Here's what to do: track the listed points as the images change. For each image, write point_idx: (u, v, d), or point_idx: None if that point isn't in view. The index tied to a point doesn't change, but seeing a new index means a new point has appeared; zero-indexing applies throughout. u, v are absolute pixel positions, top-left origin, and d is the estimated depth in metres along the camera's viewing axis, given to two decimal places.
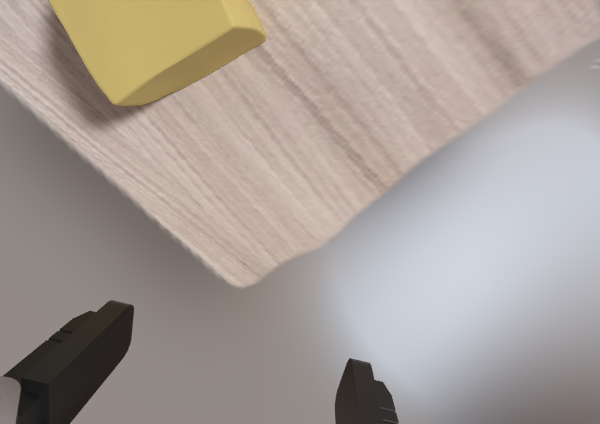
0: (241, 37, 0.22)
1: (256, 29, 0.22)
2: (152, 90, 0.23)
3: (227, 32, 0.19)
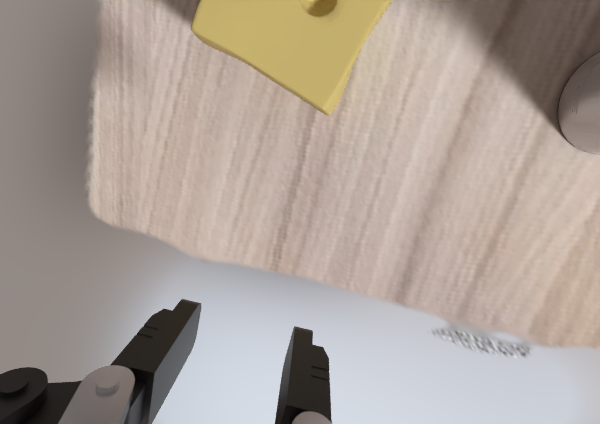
0: (316, 106, 0.24)
1: None
2: (226, 52, 0.22)
3: (315, 105, 0.21)
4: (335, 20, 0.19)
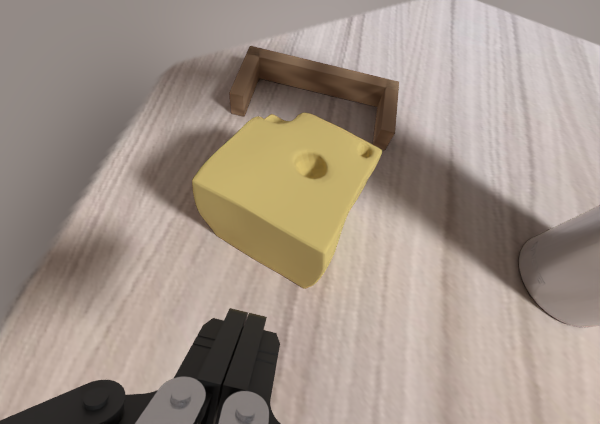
0: (308, 265, 0.22)
1: (321, 274, 0.23)
2: (219, 210, 0.22)
3: (314, 250, 0.20)
4: (327, 181, 0.22)
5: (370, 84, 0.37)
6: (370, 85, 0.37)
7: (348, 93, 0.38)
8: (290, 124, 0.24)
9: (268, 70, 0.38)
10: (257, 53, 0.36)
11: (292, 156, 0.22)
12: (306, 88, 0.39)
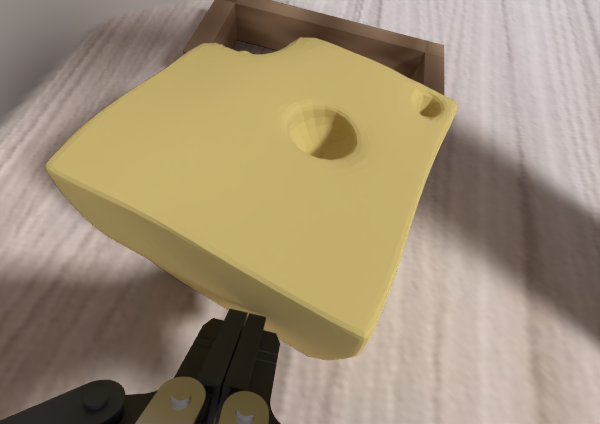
0: (320, 340, 0.11)
1: (347, 357, 0.11)
2: (128, 230, 0.10)
3: (342, 329, 0.08)
4: (359, 163, 0.10)
5: (401, 48, 0.24)
6: (401, 49, 0.24)
7: None
8: (277, 55, 0.12)
9: (250, 25, 0.25)
10: None
11: (282, 114, 0.11)
12: None
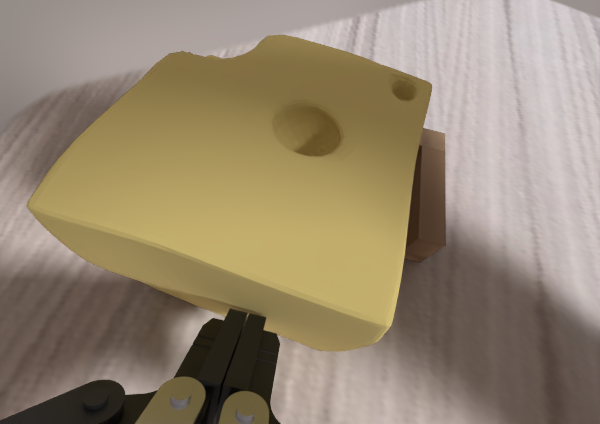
0: (336, 334, 0.11)
1: (364, 346, 0.11)
2: (124, 258, 0.10)
3: (363, 321, 0.08)
4: (350, 156, 0.10)
5: None
6: None
7: None
8: (248, 57, 0.12)
9: None
10: None
11: (265, 116, 0.10)
12: None
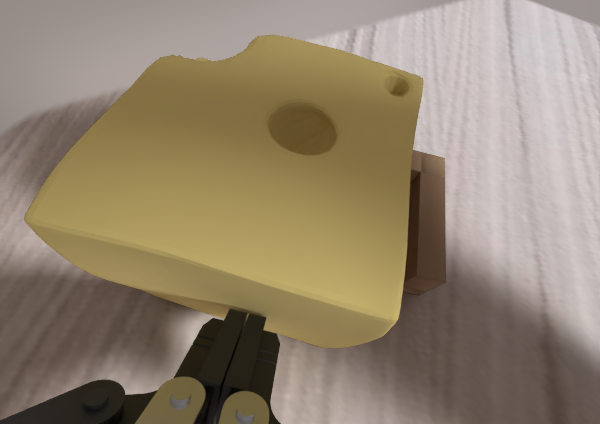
0: (342, 331, 0.11)
1: None
2: (126, 267, 0.10)
3: (371, 317, 0.08)
4: (348, 153, 0.10)
5: None
6: None
7: None
8: (240, 58, 0.12)
9: None
10: None
11: (260, 118, 0.10)
12: None
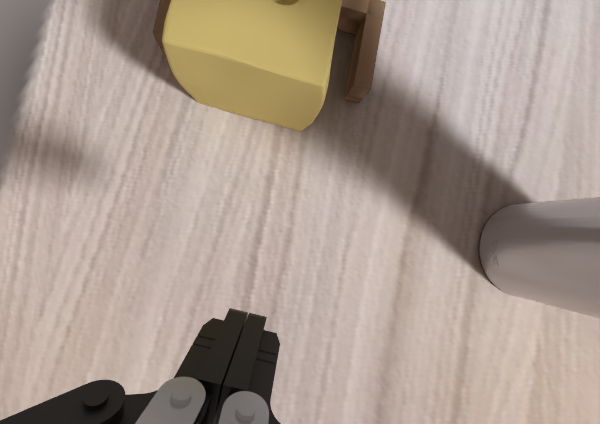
0: (305, 104, 0.23)
1: (319, 110, 0.23)
2: (200, 69, 0.21)
3: (313, 85, 0.20)
4: (306, 3, 0.20)
5: (346, 8, 0.27)
6: (346, 9, 0.27)
7: None
8: None
9: None
10: None
11: None
12: None
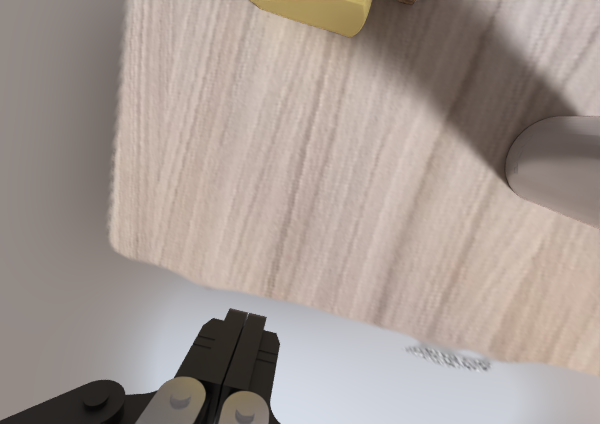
0: (350, 17, 0.26)
1: (363, 22, 0.26)
2: None
3: (355, 4, 0.23)
4: None
5: None
6: None
7: None
8: None
9: None
10: None
11: None
12: None
